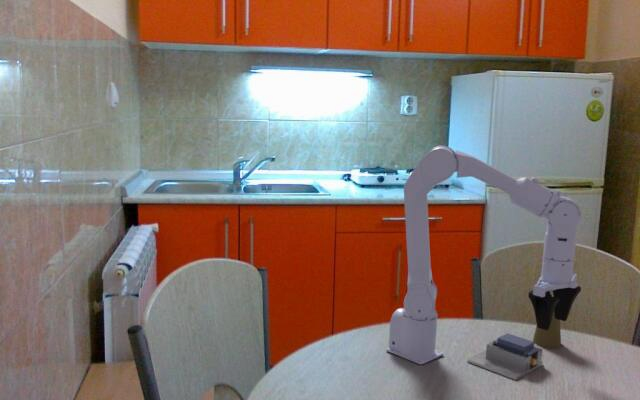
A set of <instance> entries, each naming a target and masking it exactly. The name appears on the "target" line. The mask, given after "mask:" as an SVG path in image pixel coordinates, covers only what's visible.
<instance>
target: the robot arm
mask: <svg viewBox="0 0 640 400" xmlns="http://www.w3.org/2000/svg"><path fill="white" fill-rule="evenodd" d="M455 172H456V178H457V179H459V178H468V177H471V178H474V179H477V180H479V181H481V182H482V183H485V184H487V185H489V186H491V187H493V188H495V189H498V190H500V191H502V192H504V193H506V194H508V197H509V200H510V202H511V203H512V204H513V205H515V206H517V207H519V208H521V209H524V210H525V211H527V212H529V213H531V214H533V215H535V216H537V217H539V218H546V219H547V221H546V231H545V234H544V242H543V254H542V263H541V264H542V265H541V271H540V272H541V274H540V277H539V279H538V281H537V283H536V284H533V289H532V290H529V291H528V299H529V300H530V302H531V304H532V307H533V311H534V316H535V322H536V325H537V327H538V328H541V329H544V330H549V328H550V325H551V320H552V316H553V312H554V314H555V319H558V320H560V321H562V322H567V320H568V318H569V315H570V312H571V309H572V306H573V305H574V302H575V299H577V296H578V295H579V294H580V293H581V292H582V287H581V286H579V285H578V283H577V277H578V274H577V273H574V263H575V255H576V254H575V253H576V246H577V235H576V234H577V231H578V230H577V226H578V225H579V224H580V222H582V218H583V216H582V214H581V209H580V207H579V205H578V204H577V203H576V202H575V201H574V200H573V199H572V198H571V197H569V196H567V194H563V193H562V191H561V190H558V189H555V190H553V189H551V188H549V187H547V186H545V185H543V184H541V183H539V182H540V180H539V179H538V178H537V177H534V176H533V177H531V178H529V177H527V176H524V177H520V178H517V179H516V178H514V177H512V176H511V175H508V174H507V173H505V172H503V171H502V170H499V169H497V168H495V167H494V166H492V165H490V164H488V163H487V162H485V161H483V160H481V159H479V158H478V157H475V156H473V155H471V154H468V153H466V152H463V151H460V150H458V149H457V150H454V149H453V148H451V147H449V146H446V145H437V146H435V147H433V148H431V149H430V150H429V151H428V152H427V153H425V154H424V155H423V156H422V157H421V159H419V161H418V162H417V164H416V165H415V167H414V168H413V171H412V172H411V174H410V175H409V177H408V178H407V180H406V182H405V183H404V185H403V195H404V196H403V201H404V219H405V235H406V236H405V237H406V238H405V239H406V251H407V252H406V253H407V282H406V285H407V292H406V294H405V297H404V300H403V307H399V308H397V309H396V310H395V311H394V312H393V313H392V316H391V318H390V322H389V340H388V347H386V352H389V353H392V354H394V355H395V356H398V357H400V358H401V357H402V358H404V359H406V360H408V361H411V362H413V363H416V364H418V365H424V364H427V363H429V362H430V361H433V360H435V359H438V358H440V357H442V356H444V352H443V351H440V350H438V349H436V341H437V327H438V312H437V310H436V300H437V296H438V288H437V285H436V284H435V283H434V280H433V279H434V278H433V272H432V265H431V248H430V247H431V246H430V226H429V225H430V224H429V207H428V204H429V203H428V194H429V193H430V192H431V191H432V190H433V189H434V188H435V187H436V186H437V185H439V184H441V183H443V182H445V181H446V180H448V179H450V178H451V177H452V176H453V175H454V173H455ZM551 292H552V294H551ZM552 295H553V296H554V297H552Z"/></svg>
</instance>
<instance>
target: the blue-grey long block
mask: <svg viewBox="0 0 640 400" xmlns="http://www.w3.org/2000/svg"><path fill="white" fill-rule="evenodd" d="M492 342H493V344H496V345H497V347H500V348H503V349H506V350H509V351H512V352H515V353H518V354H521V355H523V356H525V355H528V356H529V355H530V356H531V360H530V364H531V365H536V363H537V359H534V358H533V353H534V352H536V351H538V348H539V347H537V348H536V346H535V343H534V342H533V340H529V339H526V338H523V337H521V336H517V335H514V334H511V333H505V334H503V335H501V336H499V337H497V338H496V339H495V340H493V341H492Z"/></svg>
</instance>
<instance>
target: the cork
mask: <svg viewBox="0 0 640 400" xmlns="http://www.w3.org/2000/svg"><path fill="white" fill-rule="evenodd" d="M551 295H552V297H554V296H553V294H551ZM561 338H562V337H561V320H558V319H555V314H554V312H553V316H552V320H551V325H550V328H549V330H544V329H541V328H538V327H537V324H536V327H535V331H534V335H533V339H532V341H533V342H534V345H536V346H539V347H542V348H545V349H547V348H548V349H559V348H561V346H562V340H561Z"/></svg>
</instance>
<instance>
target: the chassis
mask: <svg viewBox="0 0 640 400" xmlns="http://www.w3.org/2000/svg"><path fill="white" fill-rule="evenodd" d="M535 347H536V346H535ZM536 348H538V351H536V352H534V353H533V358H534V359H537V363H536V365H531V364H530V360H531V356H530V355H529V356H528V355H525V356H523V355H521V354H518V353H515V352H512V351H509V350H506V349H503V348H500V347H497V345H496V344H493V341H491V342H490V343H487V344H486V349H485V350H484V351H483V350H482V352H479V353H477V354H475V355H474V356H471V357H469V358H467V359H466V360H467V361H466V362H467V363H469V364H471V365H475V366H477V367H479V368H483V369H485V370H487V371H491V372H493V373H495V374H499V375H500V376H503V377H506V378H508V379H511V380H514V381H517V380H519V379H521V378H522V377H524V376H527V374H530V373H531V372H533V371H535V370H537V369H538V368H540V367H541V366H543V364H544V361H542V358H543V348H539V347H536Z"/></svg>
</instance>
